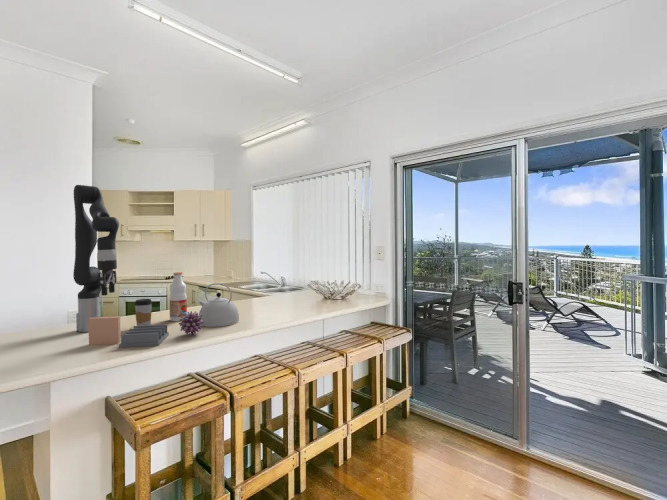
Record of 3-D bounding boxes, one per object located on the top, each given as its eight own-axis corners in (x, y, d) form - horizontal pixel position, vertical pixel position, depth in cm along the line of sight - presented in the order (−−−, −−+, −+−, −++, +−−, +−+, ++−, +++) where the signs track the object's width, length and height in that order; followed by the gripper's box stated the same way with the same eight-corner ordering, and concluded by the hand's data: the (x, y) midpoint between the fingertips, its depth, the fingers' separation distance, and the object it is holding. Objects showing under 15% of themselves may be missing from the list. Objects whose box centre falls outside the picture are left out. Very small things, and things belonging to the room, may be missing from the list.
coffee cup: (155, 325, 187) (155, 298, 187) (146, 329, 179) (145, 301, 178) (141, 325, 188) (141, 298, 187) (131, 329, 180) (130, 301, 179)
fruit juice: (170, 318, 205) (169, 272, 204) (187, 317, 208) (186, 271, 207) (168, 321, 196) (168, 273, 195) (186, 320, 199) (186, 273, 198)
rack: (119, 347, 149) (119, 335, 149) (133, 336, 165) (133, 325, 165) (158, 345, 152) (158, 333, 152) (168, 335, 169) (168, 324, 169)
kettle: (185, 324, 190) (185, 284, 189) (211, 316, 211) (210, 280, 211) (224, 328, 183) (223, 286, 182) (246, 318, 204) (246, 281, 204)
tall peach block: (88, 345, 153) (88, 318, 152) (91, 343, 155) (91, 317, 155) (118, 343, 155) (117, 317, 155) (120, 341, 158) (120, 316, 157)
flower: (190, 330, 177) (189, 308, 177) (209, 332, 173) (209, 309, 173) (173, 336, 166) (173, 312, 166) (193, 338, 162) (193, 314, 162)
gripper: (104, 259, 165) (105, 292, 165) (90, 260, 151) (92, 296, 151) (121, 258, 166) (122, 291, 167) (109, 259, 153) (111, 295, 153)
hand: (108, 293), depth 159 cm, fingers open, 8 cm apart
